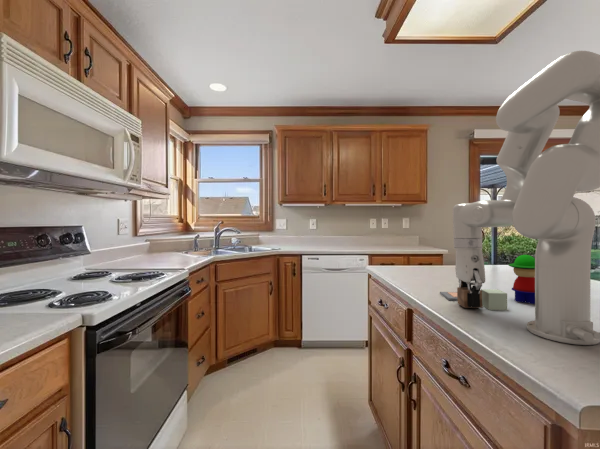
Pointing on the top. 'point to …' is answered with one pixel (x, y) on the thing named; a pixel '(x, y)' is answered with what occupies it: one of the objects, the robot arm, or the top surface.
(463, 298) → the walnut block
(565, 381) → the top surface
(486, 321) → the top surface
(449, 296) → the slate board
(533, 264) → the toy
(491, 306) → the sage block
